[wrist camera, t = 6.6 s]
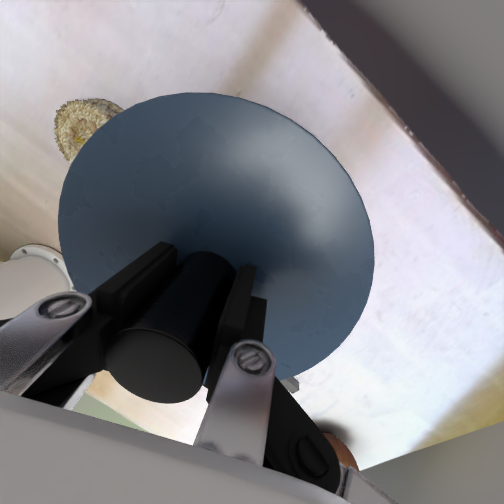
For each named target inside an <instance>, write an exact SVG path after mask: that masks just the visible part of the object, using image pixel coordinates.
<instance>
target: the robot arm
mask: <svg viewBox="0 0 504 504" xmlns="http://www.w3.org/2000/svg"><path fill="white" fill-rule="evenodd" d="M177 254H178V250H177V249H176V248H175V247H174V245H173V244H170V243H166V242H162V241H160V242H159V243H157V244H156V245H155V246H153V247H152V248H150V249H149V250H148V251H146V252H145V253H144V254H142V255H141V256H140V257H138V258H137V259H135V260H134V261H133V262H131V263H130V264H129V265H127V266H126V267H124V268H123V269H122V270H120V271H119V272H118V273H116V274H115V275H114V276H112V277H111V278H109V279H108V280H107V281H105V282H104V283H103V284H101V285H100V286H98V287H97V288H96V289H95V290H94V291H92V292H91V293H89V294H88V295H87V294H85V293H82V292H76V290H75V288H74V286H73V284H72V281H71V279H70V277H69V275H68V272H67V269H66V266H65V263H64V260H63V257H62V255H61V254H60V253H59V252H57V251H55V250H53V249H51V248H49V247H46V246H42V245H35V244H31V245H26V246H24V247H21V248H18V249H17V250H16V251H14V252H13V254H12V255H11V258H10V260H9V261H7V262H0V504H398V503H396V502H395V501H394V500H393V499H391V498H390V497H389V496H388V495H387V494H385V493H384V492H383V491H382V490H380V489H379V488H378V487H377V486H376V485H374V484H373V483H372V482H371V481H369V480H368V479H367V478H366V477H365V476H363V475H362V474H361V473H360V472H358V471H357V470H356V469H355V468H354V467H352V466H351V465H350V466H349V467H348V468H347V467H346V466H344V465H343V464H342V463H341V462H340V461H339V460H338V457H337V455H336V452H335V450H334V448H333V447H332V445H331V444H330V442H329V441H328V439H327V438H326V437H325V436H324V434H323V433H322V432H321V431H320V429H319V428H318V427H317V426H316V425H315V423H314V422H313V421H312V420H311V419H310V417H309V416H308V415H307V414H306V412H305V411H304V410H303V409H302V408H301V406H300V405H299V404H298V403H297V401H296V400H295V399H294V398H293V397H292V395H291V394H290V393H289V392H288V390H287V389H286V388H285V387H284V386H283V384H282V383H281V382H280V381H279V379H278V378H277V377H276V376H275V370H276V359H275V356H274V354H273V352H272V351H271V350H270V348H269V347H268V346H266V345H265V344H264V343H263V336H264V327H265V318H266V308H267V299H263V298H260V297H256V296H252V295H251V293H252V288H253V284H254V279H255V275H256V270H257V267H256V266H252V265H248V264H245V267H243V266H240V267H239V270H238V272H237V275H236V278H235V280H234V283H233V286H232V288H231V291H230V294H229V296H228V299H227V301H226V304H225V307H224V309H223V312H222V315H221V317H220V320H219V324H218V327H217V332H216V336H215V341H214V345H213V350H212V354H211V360H210V363H209V368H208V372H207V377H206V381H205V386H204V387H206V388H209V389H208V393H207V398H206V401H207V403H208V404H209V405H208V408H207V410H206V413H205V415H204V418H203V421H202V423H201V426H200V428H199V431H198V434H197V436H196V439H195V441H194V444H193V446H192V445H189V444H185V443H182V442H178V441H175V440H171V439H168V438H164V437H161V436H158V435H154V434H151V433H147V432H144V431H139V430H137V429H133V428H130V427H126V426H123V425H119V424H116V423H112V422H109V421H105V420H102V419H98V418H95V417H91V416H87V415H84V414H81V413H77V412H73V411H71V410H72V409H73V407H74V406H75V405H76V403H77V402H78V401H79V399H80V398H81V396H82V395H83V394H84V392H85V391H86V389H87V388H88V387H89V385H90V384H91V383H92V381H93V379H94V378H95V376H96V373H97V372H100V371H102V370H106V371H109V370H108V368H107V366H106V363H105V358H104V350H105V346H106V344H107V342H108V340H109V339H110V338H111V336H112V335H113V334H114V333H115V332H116V331H117V330H118V329H119V328H120V327H121V326H122V325H123V324H124V322H125V321H126V320H127V319H128V318H129V317H130V316H131V315H132V314H133V313H134V312H135V311H136V310H137V308H138V307H139V306H140V305H141V304H142V303H143V302H144V301H145V300H146V299H147V298H148V297H149V295H150V294H151V293H152V292H153V291H154V290H155V289H156V288H157V287H158V286H159V285H160V284H161V283H162V281H163V280H164V279H165V278H166V277H167V276H168V275H169V274H170V273H171V272H172V271H173V270H174V269H175V267H176V263H177Z"/></svg>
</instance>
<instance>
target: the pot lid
mask: <svg viewBox="0 0 504 504" xmlns="http://www.w3.org/2000/svg"><path fill="white" fill-rule="evenodd" d="M58 230H59V241H60V246H61V252H62V257H63V260H64V263H65V266H66V269H67V272H68V275H69V277H70V279H71V281H72V284H73V286H74V288H75V290H76V292H82V293H85V294H87V295H88V294H89V293H91V292H92V291H94V290H95V289H96V288H97V287H98V286H100V285H101V284H103V283H104V282H105V281H107V280H108V279H109V278H111V277H112V276H114V275H115V274H116V273H118V272H119V271H120V270H122V269H123V268H124V267H126V266H127V265H129V264H130V263H131V262H133V261H134V260H135V259H137V258H138V257H140V256H141V255H142V254H144V253H145V252H146V251H148V250H149V249H150V248H152V247H153V246H155V245H156V244H157V243H159V242H160V241H162V242H166V243H170V244H173V245H174V247H175V248H176V249H177V250H178V254H177V263H176V267H175V269H174V270H173V271H172V272H171V273H170V274H169V275H168V276H167V277H166V278H165V279H164V280H163V281H162V283H161V284H160V285H159V286H158V287H157V288H156V289H155V290H154V291H153V292H152V293H151V294H150V295H149V297H148V298H147V299H146V300H145V301H144V302H143V303H142V304H141V305H140V306H139V307H138V308H137V310H136V311H135V312H134V313H133V314H132V315H131V316H130V317H129V318H128V319H127V320H126V321H125V322H124V324H123V325H122V326H121V327H120V328H119V329H118V330H117V331H116V332H115V333H114V334H113V335H112V336H111V338H110V339H109V340H108V342H107V344H106V346H105V350H104V358H105V363H106V366H107V368H108V370H109V372H110V373H111V375H112V376H113V377H114V379H115V380H116V381H117V382H118V383H119V384H120V385H121V386H123V387H124V388H125V389H127V390H128V391H129V392H131V393H133V394H135V395H137V396H139V397H141V398H143V399H146V400H149V401H153V402H158V403H167V404H169V403H179V402H183V401H186V400H188V399H190V398H192V397H193V396H194V395H195V394H196V393H197V392H198V391H199V390H200V388H201V386H202V384H205V381H206V377H207V372H208V368H209V363H210V360H211V354H212V350H213V345H214V341H215V336H216V332H217V327H218V324H219V320H220V317H221V315H222V312H223V309H224V307H225V304H226V301H227V299H228V296H229V294H230V291H231V288H232V286H233V283H234V280H235V278H236V275H237V272H238V270H239V267H240V266H243V267H245V264H248V265H252V266H256V267H257V270H256V275H255V279H254V284H253V288H252V293H251V295H252V296H256V297H260V298H263V299H267V308H266V318H265V327H264V336H263V343H264V344H265V345H266V346H268V347H269V348H270V350H271V351H272V352H273V354H274V356H275V359H276V370H275V376H276V377H277V378H278V379H279V381H281V380H284V379H287V378H290V377H292V376H295V375H298V374H300V373H302V372H304V371H306V370H308V369H310V368H312V367H313V366H315V365H316V364H318V363H319V362H321V361H322V360H324V359H325V358H326V357H328V356H329V355H330V354H331V353H332V352H333V351H334V350H335V349H337V348H338V347H339V346H340V345H341V343H342V342H343V341H344V340H345V339H346V338H347V336H348V335H349V334H350V333H351V331H352V330H353V328H354V326H355V325H356V323H357V322H358V320H359V319H360V316H361V314H362V312H363V310H364V308H365V305H366V303H367V300H368V296H369V293H370V289H371V286H372V280H373V272H374V241H373V236H372V231H371V226H370V220H369V217H368V215H367V212H366V209H365V206H364V204H363V201H362V198H361V196H360V194H359V192H358V191H357V189H356V187H355V185H354V183H353V181H352V180H351V178H350V176H349V175H348V173H347V172H346V171H345V169H344V168H343V167H342V165H341V164H340V163H339V161H338V160H337V159H336V157H335V156H334V155H333V154H332V153H331V152H330V151H329V150H328V149H327V148H326V147H325V146H324V145H323V144H322V143H321V142H320V141H319V140H318V139H317V138H316V137H315V136H314V135H312V134H311V133H309V132H308V131H307V130H305V129H304V128H303V127H301V126H300V125H298V124H297V123H296V122H294V121H293V120H291V119H290V118H288V117H286V116H284V115H282V114H280V113H278V112H276V111H274V110H272V109H270V108H268V107H266V106H263V105H260V104H257V103H254V102H251V101H248V100H245V99H242V98H239V97H233V96H228V95H222V94H216V93H179V94H172V95H166V96H159V97H156V98H153V99H150V100H147V101H144V102H141V103H138V104H136V105H134V106H132V107H130V108H128V109H126V110H124V111H122V112H121V113H119V114H117V115H115V116H114V117H112V118H111V119H110V120H109V121H107V122H106V123H105V124H104V125H102V126H101V127H100V128H98V129H97V130H96V131H95V132H94V134H93V135H92V136H91V137H90V138H89V139H88V140H87V141H86V142H85V144H84V145H83V146H82V147H81V149H80V151H79V152H78V154H77V155H76V157H75V159H74V160H73V162H72V164H71V166H70V168H69V171H68V173H67V176H66V178H65V180H64V184H63V188H62V192H61V196H60V201H59V212H58Z"/></svg>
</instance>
